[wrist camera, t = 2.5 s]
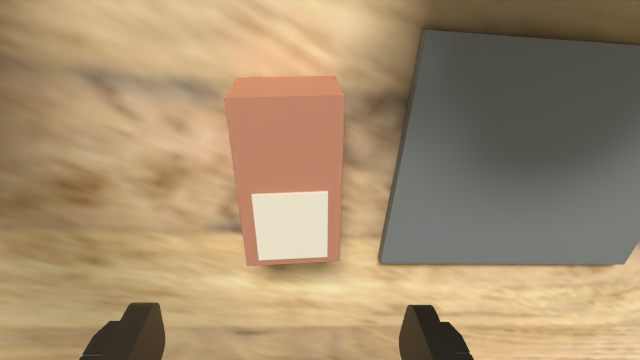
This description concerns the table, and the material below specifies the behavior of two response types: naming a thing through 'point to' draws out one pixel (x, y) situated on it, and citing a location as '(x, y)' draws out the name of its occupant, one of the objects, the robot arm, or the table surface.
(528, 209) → the slate mat
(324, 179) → the card box
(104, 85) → the table surface
